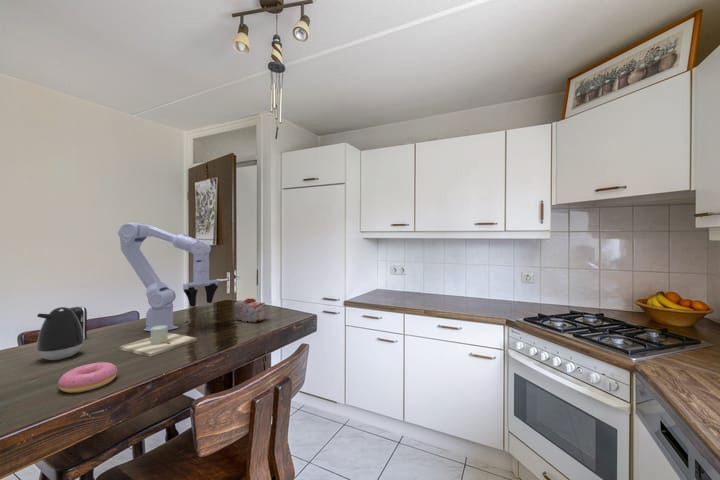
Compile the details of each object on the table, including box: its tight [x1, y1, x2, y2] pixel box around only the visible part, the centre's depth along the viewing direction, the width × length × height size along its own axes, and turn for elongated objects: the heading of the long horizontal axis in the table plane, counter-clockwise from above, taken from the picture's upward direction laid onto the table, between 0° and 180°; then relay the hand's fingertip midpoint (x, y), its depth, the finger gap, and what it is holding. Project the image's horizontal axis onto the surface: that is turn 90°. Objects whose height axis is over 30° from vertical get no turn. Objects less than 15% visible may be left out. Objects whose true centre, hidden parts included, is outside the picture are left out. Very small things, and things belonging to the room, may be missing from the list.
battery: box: [68, 306, 88, 340], centre depth 109 cm, size 7×4×11 cm, turn 61°
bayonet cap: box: [150, 325, 169, 344], centre depth 103 cm, size 5×6×5 cm
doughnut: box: [58, 361, 119, 394], centre depth 75 cm, size 11×11×4 cm
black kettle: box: [36, 306, 85, 361], centre depth 92 cm, size 10×10×15 cm
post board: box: [118, 332, 198, 358], centre depth 103 cm, size 16×16×4 cm
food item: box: [233, 297, 266, 323], centre depth 134 cm, size 14×8×10 cm, turn 68°
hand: (201, 304), depth 123 cm, fingers open, 7 cm apart
